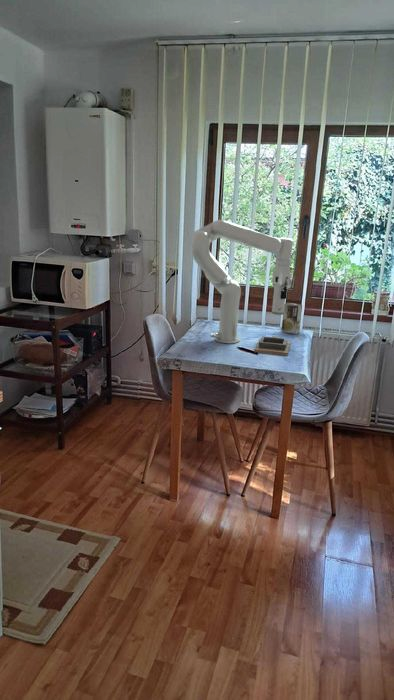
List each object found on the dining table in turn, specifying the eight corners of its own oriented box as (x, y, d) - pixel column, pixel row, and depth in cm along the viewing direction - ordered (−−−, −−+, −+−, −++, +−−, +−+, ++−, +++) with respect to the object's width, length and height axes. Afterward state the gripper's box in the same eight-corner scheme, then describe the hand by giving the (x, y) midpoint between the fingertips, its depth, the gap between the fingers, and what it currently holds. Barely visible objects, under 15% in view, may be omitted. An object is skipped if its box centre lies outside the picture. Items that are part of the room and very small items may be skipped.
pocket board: (287, 355, 233) (288, 347, 232) (254, 352, 236) (254, 344, 235) (290, 344, 253) (291, 336, 252) (259, 341, 257) (260, 333, 256)
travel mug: (281, 315, 252) (285, 276, 246) (269, 313, 255) (273, 275, 249) (286, 313, 257) (290, 275, 251) (274, 311, 260) (278, 274, 255)
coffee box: (300, 332, 280) (302, 304, 276) (295, 334, 275) (298, 306, 271) (285, 329, 285) (287, 302, 280) (280, 331, 280) (283, 303, 275)
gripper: (267, 260, 255) (264, 294, 260) (286, 264, 240) (282, 300, 245) (280, 260, 258) (276, 294, 263) (298, 264, 243) (295, 300, 248)
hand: (279, 297), depth 254 cm, fingers closed on travel mug, 6 cm apart
